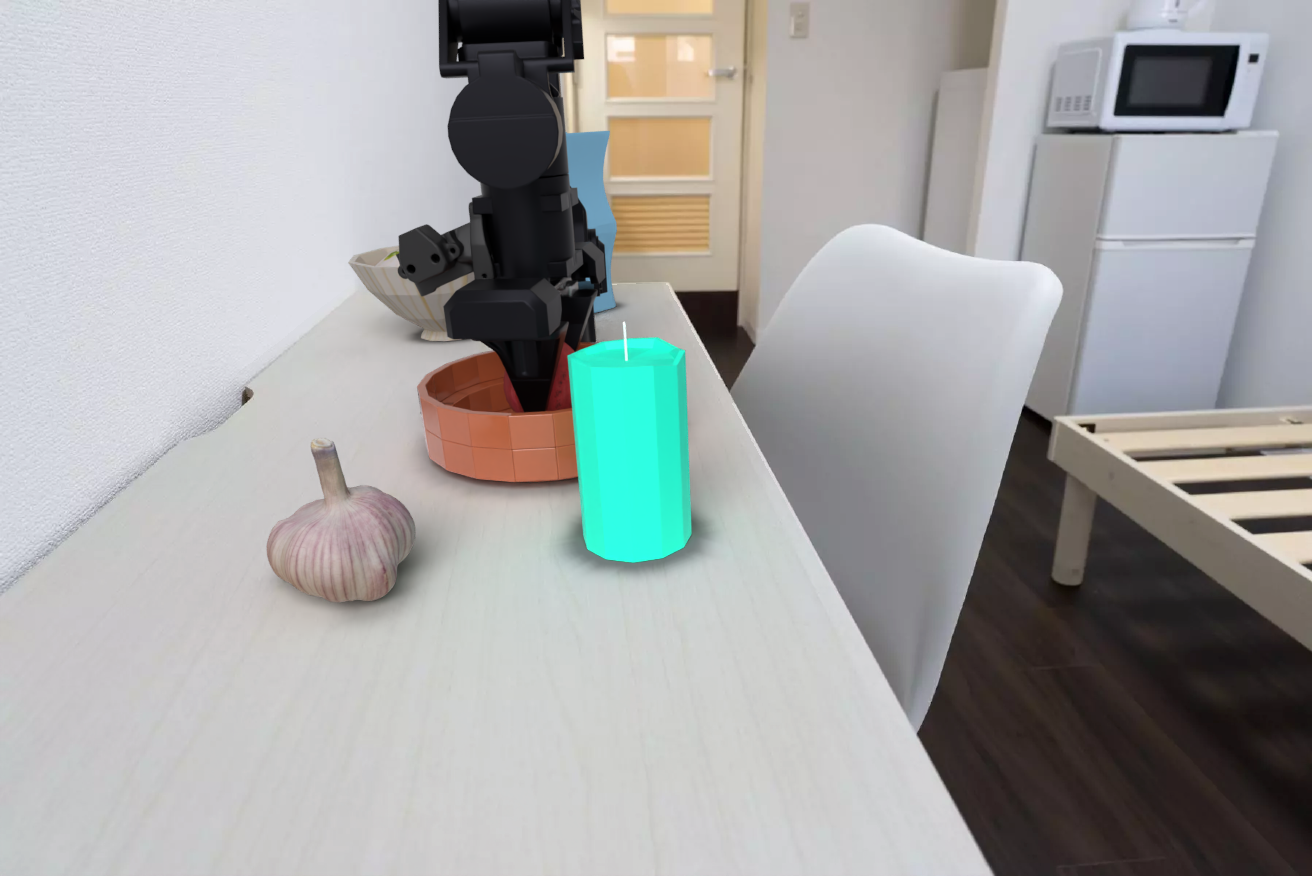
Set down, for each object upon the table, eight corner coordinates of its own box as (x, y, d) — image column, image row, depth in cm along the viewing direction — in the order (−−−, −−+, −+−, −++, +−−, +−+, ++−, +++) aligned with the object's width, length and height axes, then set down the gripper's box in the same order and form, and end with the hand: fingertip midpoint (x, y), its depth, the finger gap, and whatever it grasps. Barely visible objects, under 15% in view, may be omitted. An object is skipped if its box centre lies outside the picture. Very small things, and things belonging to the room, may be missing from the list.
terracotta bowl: (585, 387, 71) (580, 330, 70) (719, 440, 58) (717, 372, 57) (391, 439, 62) (380, 374, 60) (499, 516, 49) (489, 437, 47)
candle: (610, 573, 42) (593, 344, 38) (566, 527, 47) (546, 319, 43) (712, 543, 45) (706, 324, 40) (660, 502, 50) (650, 303, 45)
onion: (576, 448, 57) (566, 333, 54) (497, 445, 58) (483, 333, 55) (599, 418, 62) (591, 313, 59) (525, 416, 63) (514, 313, 60)
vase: (621, 305, 101) (610, 130, 94) (574, 318, 96) (559, 134, 89) (576, 298, 106) (563, 132, 99) (529, 311, 101) (511, 135, 93)
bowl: (575, 321, 95) (568, 231, 91) (452, 365, 80) (437, 260, 76) (453, 307, 105) (442, 226, 101) (323, 345, 90) (305, 251, 86)
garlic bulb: (406, 616, 39) (378, 460, 36) (248, 630, 39) (206, 474, 36) (432, 540, 46) (410, 405, 44) (298, 552, 46) (266, 415, 43)
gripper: (455, 170, 63) (480, 367, 69) (337, 195, 46) (384, 455, 52) (599, 164, 62) (612, 366, 67) (532, 188, 45) (558, 456, 50)
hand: (547, 405), depth 59 cm, fingers closed on onion, 6 cm apart
